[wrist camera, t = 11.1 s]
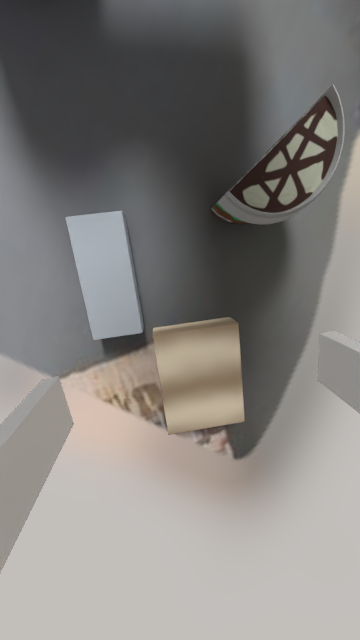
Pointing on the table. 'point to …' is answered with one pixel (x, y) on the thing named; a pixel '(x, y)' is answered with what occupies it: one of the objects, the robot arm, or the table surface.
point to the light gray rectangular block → (106, 273)
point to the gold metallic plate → (200, 374)
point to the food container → (289, 168)
